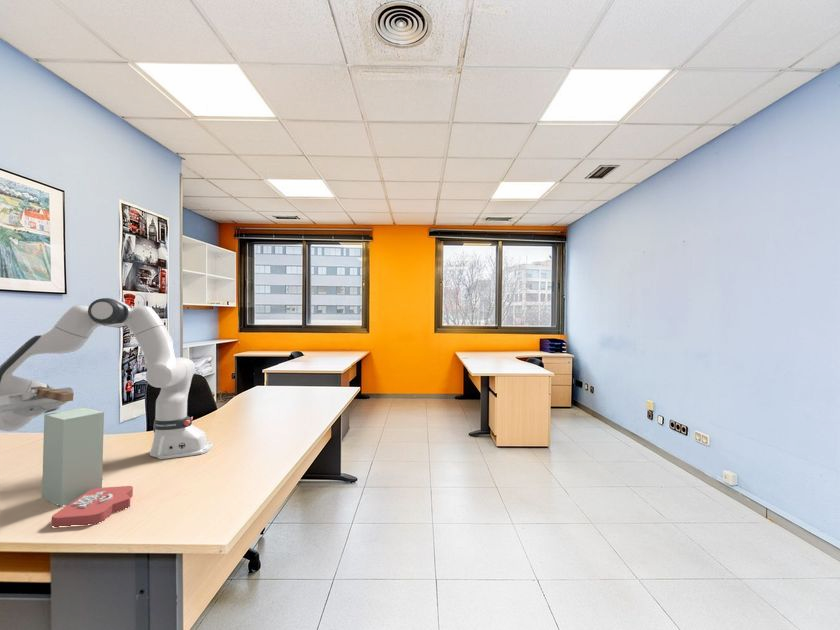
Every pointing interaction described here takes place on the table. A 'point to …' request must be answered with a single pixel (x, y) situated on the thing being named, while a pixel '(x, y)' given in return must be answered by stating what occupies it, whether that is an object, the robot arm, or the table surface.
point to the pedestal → (72, 454)
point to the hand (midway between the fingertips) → (43, 390)
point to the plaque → (94, 506)
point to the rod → (54, 394)
